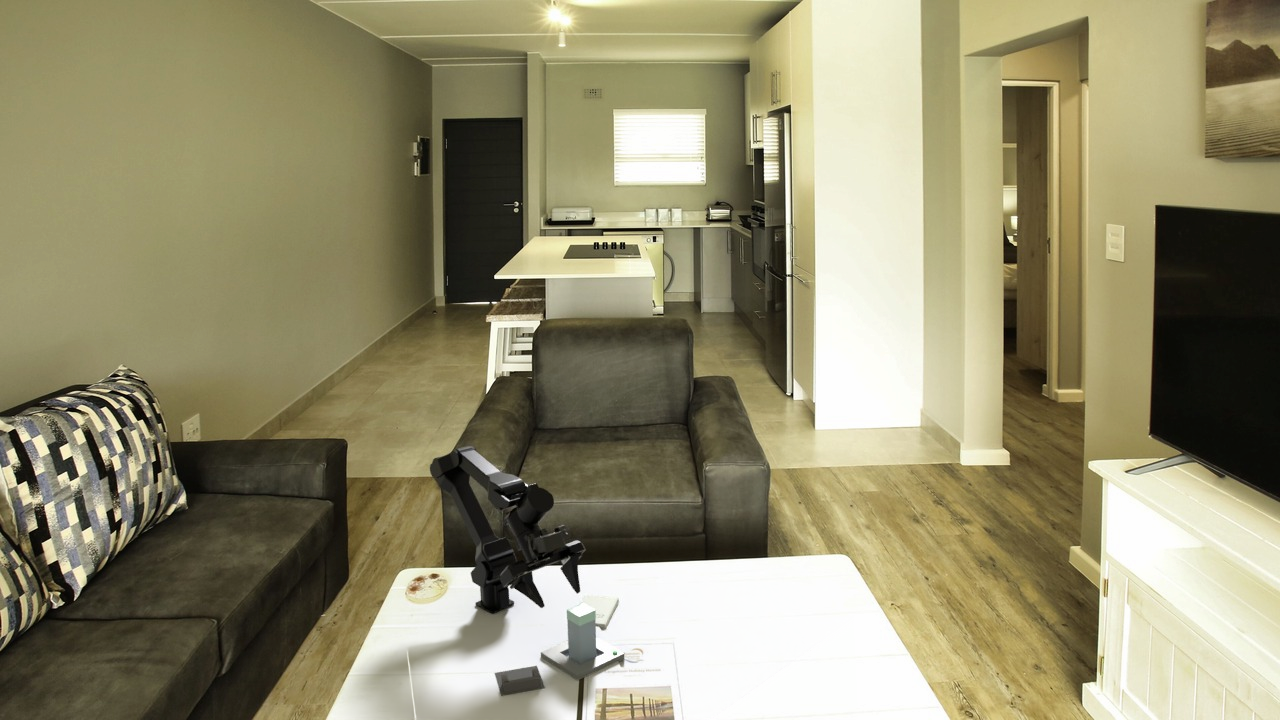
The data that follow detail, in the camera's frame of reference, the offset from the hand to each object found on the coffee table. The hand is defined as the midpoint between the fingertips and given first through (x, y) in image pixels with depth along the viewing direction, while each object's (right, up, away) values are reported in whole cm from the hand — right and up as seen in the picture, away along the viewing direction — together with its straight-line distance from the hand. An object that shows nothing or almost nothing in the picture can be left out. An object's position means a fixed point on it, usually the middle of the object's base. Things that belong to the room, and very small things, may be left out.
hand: (561, 599), depth 192 cm
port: (+5, -11, -2) cm, 13 cm away
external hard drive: (+6, -8, +17) cm, 20 cm away
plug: (+5, -11, -2) cm, 13 cm away
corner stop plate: (-7, -13, -10) cm, 18 cm away
